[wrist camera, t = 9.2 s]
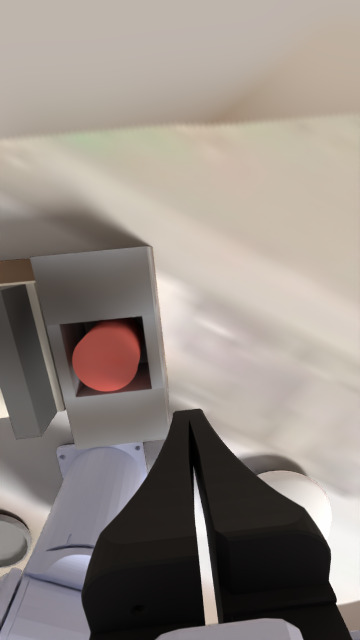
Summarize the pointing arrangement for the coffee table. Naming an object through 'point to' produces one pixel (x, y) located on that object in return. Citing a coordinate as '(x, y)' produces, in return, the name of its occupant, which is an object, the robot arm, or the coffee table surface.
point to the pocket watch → (13, 541)
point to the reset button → (109, 354)
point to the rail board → (80, 317)
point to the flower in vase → (302, 495)
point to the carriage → (26, 362)
